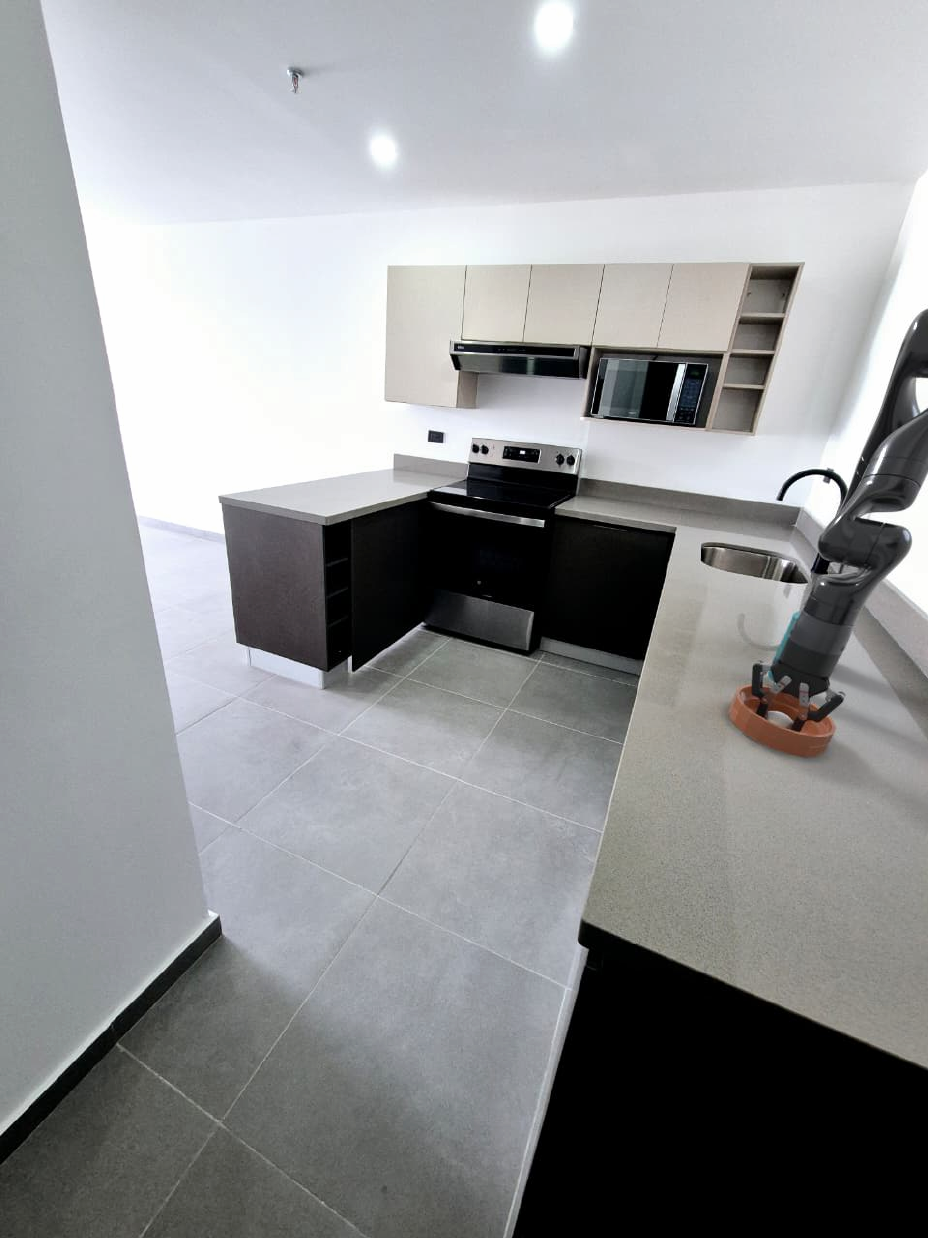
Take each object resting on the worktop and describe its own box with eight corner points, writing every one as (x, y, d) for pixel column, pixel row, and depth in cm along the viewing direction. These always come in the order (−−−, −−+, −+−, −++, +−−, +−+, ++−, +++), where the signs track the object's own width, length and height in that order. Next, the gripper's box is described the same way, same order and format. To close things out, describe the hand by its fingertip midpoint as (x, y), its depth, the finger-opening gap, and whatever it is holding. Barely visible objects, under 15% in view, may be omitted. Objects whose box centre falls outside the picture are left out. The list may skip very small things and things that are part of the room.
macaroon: (791, 728, 86) (797, 716, 85) (785, 739, 83) (791, 727, 82) (765, 716, 89) (770, 705, 88) (758, 726, 85) (763, 715, 84)
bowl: (741, 695, 96) (749, 675, 94) (830, 734, 87) (842, 713, 85) (716, 724, 85) (725, 703, 83) (815, 772, 76) (828, 749, 74)
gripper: (871, 653, 77) (825, 739, 84) (773, 620, 85) (738, 700, 92) (866, 667, 72) (817, 757, 79) (762, 630, 80) (726, 715, 87)
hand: (775, 726), depth 86 cm, fingers closed on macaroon, 4 cm apart
